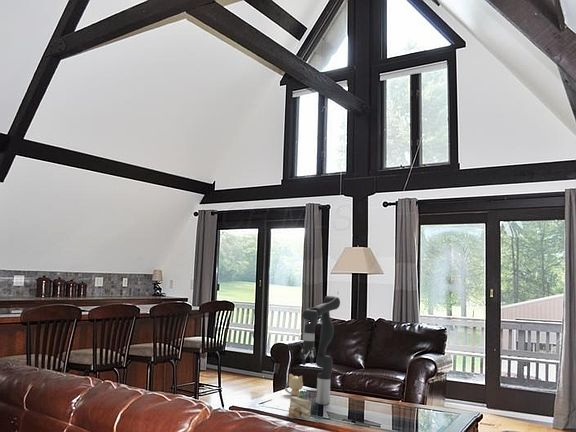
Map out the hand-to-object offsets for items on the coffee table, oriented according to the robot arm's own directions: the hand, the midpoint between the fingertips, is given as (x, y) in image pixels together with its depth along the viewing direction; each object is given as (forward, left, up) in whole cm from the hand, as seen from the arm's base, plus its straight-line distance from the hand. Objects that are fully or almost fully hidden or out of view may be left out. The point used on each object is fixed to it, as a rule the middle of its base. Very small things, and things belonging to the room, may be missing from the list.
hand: (307, 364), depth 344 cm
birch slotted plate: (+12, +5, -30) cm, 33 cm away
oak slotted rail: (+12, +5, -30) cm, 33 cm away
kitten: (-28, -30, -30) cm, 51 cm away
